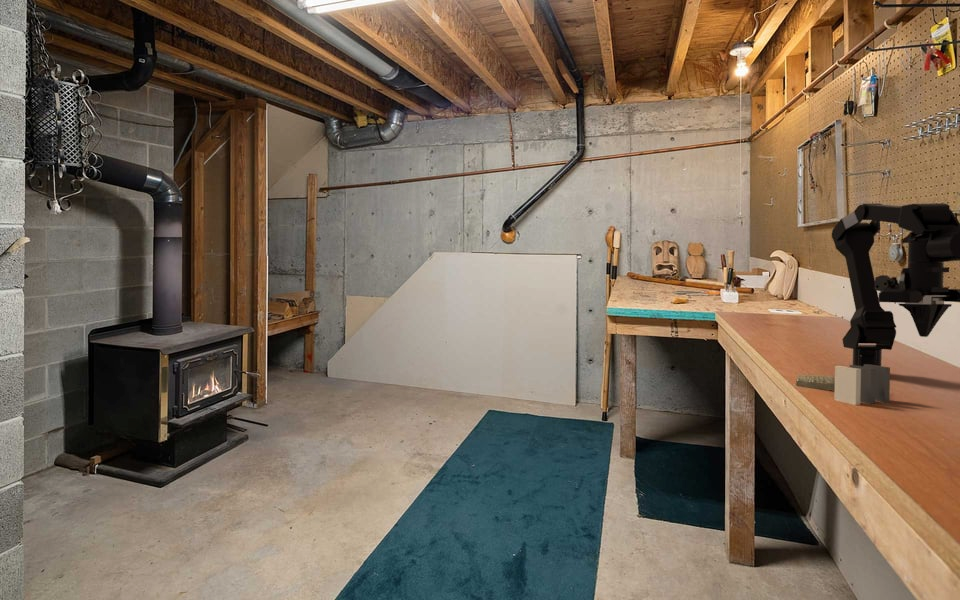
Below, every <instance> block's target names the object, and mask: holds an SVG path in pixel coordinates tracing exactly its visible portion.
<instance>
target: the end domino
mask: <svg viewBox="0 0 960 600" xmlns="http://www.w3.org/2000/svg"><path fill="white" fill-rule="evenodd" d="M834 377H835V391H834V394H833V395H834V399H833V400H834V401H837V402H841V403H845V404H849V405H854V406H858V405H859V406H860V405H861V402H860V391H861V369H857V368H851V367H849V366H845V365H844V366H843V365H835V366H834Z"/></svg>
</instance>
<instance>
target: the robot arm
mask: <svg viewBox="0 0 960 600" xmlns="http://www.w3.org/2000/svg"><path fill="white" fill-rule="evenodd" d="M950 208H951V206H950V205H949V204H947V203H944V202H943V203H940V202H939V203H934V202H933V203H910V204H903V205H892V204H883V203H862V204H859V205H858V206H857V207H856V209H855V210H854V211H852V212H850V213H849V214H847V215H846V216H844V217H842V218H841V219H839V221H838V222H837V223H836V224H835V225H834V227H833V229H832V231H831V238H832V240H833V243H834V245H835V249H836V250H837V251H838V252H839V253H840V254H841V255H842V256H843V257H844V258H845V261H846V268H847V273H848V278H849V283H850V287H851V288H850V289H851V293H852V298H853V302H854V306H855V311H854V313H853V315H852V316H851V318H850V321H849V324H850V328H849V329H848V331H847V332H846V334H844V336H843V337H842V345H843V347H844V348H847V349H851V350H852V365H857V366H864V364H870V365H877V366H882V353H883V351H882V350H889V351H892V350H893V346H894V342H895V339H896V336H897V329H896V328H897V325H896V323H895V320H894V314H893V312H892V311H891V310H885V309H884V308H883V307H882V306H881V304H880V303H895V304H896V303H898V306H899V307H903V308H904V309H906V311H908V312H909V314H910V315H911V318H912V320H913V323H914V325H915V328H916V331H917V333H918V335H919V337H922V338H928V337H929V335H930V334H931V332H932V331H933V330H934V328H935V327H936V325H937V323H938V322H939V321H940V319H941V317H942V316H943V315H944V314H945V312H946V311H947V310H948V308H950V307H952V305H953V304H952V303H960V288H950V287H947V286H946V287H945V286H944V274H945V273H950V268H949V267H945V263H948V262H960V222H959V220H958V219H957V217H956V215H955V213H954V212H953V210H951V209H950ZM863 221H870V222H863ZM881 222H883V223H891V224H893V223H894V224H896V225H898V227H899V228H900V229H902V230H906V231H908V232H909V233H908V234H907V236H905V237H904V238H903V239H902V240H901V243H902V244H908V249H907V267H903V268H902V269H901V271H900V275H899V276H892V277H890V276H889V275H885V274H883V275H878V276H876V277H875V276H874V271H873V266H872V261H871V260H872V259H871V256H870V251H871V249H872V247H873V245H874V243H875V236H876V235H877V234H878V233H879V231H881ZM945 302H950V303H945Z"/></svg>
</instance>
